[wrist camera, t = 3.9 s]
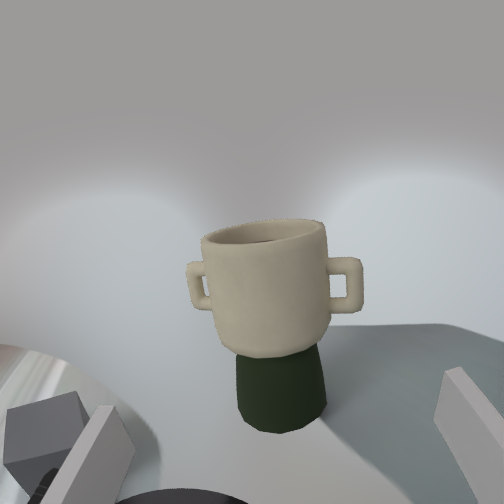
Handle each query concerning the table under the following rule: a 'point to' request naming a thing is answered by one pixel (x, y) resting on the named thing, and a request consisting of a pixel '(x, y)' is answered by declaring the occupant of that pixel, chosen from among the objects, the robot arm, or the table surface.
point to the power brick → (42, 437)
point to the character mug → (274, 313)
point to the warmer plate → (181, 497)
